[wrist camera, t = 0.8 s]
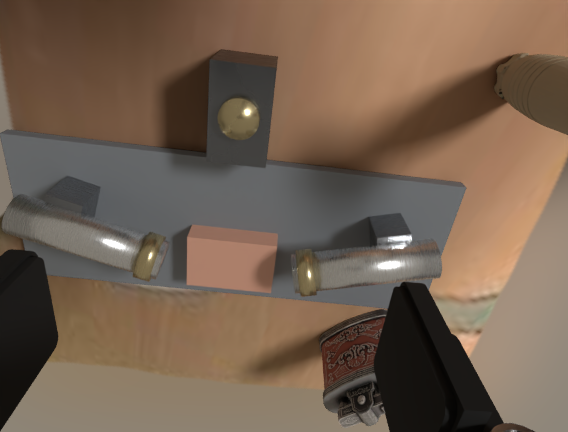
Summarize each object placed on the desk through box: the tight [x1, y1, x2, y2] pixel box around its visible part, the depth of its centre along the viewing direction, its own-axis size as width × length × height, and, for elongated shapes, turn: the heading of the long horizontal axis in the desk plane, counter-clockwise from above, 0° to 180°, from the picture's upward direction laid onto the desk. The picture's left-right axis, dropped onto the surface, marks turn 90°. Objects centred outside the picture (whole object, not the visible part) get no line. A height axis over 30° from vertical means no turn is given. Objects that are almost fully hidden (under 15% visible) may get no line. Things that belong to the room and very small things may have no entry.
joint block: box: [206, 49, 278, 168], centre depth 28 cm, size 4×6×6 cm, turn 173°
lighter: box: [319, 309, 387, 427], centre depth 37 cm, size 8×3×10 cm, turn 121°
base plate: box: [0, 130, 466, 309], centre depth 34 cm, size 13×36×3 cm, turn 83°
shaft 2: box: [291, 213, 442, 297], centre depth 33 cm, size 11×4×7 cm, turn 98°
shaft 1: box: [2, 176, 170, 282], centre depth 32 cm, size 11×4×7 cm, turn 68°
